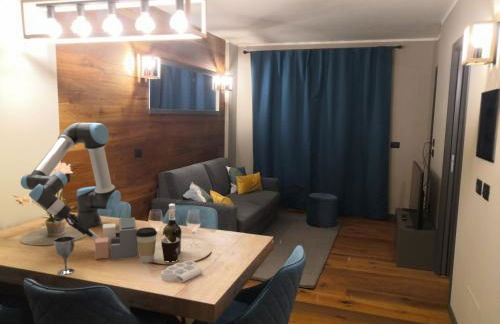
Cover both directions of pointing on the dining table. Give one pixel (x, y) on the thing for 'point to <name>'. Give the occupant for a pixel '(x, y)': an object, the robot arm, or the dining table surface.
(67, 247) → the wine glass
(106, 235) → the cream key
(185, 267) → the grey muffin tray
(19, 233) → the dining table surface
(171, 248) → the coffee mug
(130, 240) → the console
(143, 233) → the coffee cup
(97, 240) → the terracotta key
